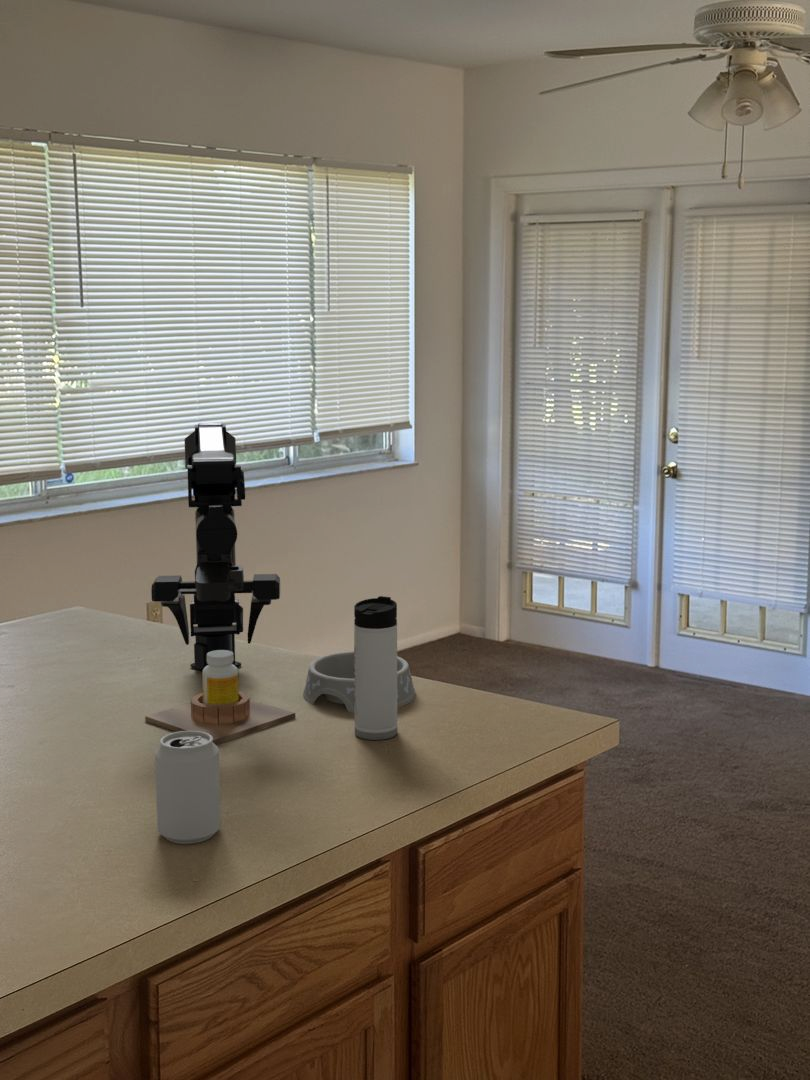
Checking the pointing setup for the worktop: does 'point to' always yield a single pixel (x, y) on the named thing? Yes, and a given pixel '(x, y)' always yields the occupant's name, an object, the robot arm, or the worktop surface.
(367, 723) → the travel mug
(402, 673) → the dog bowl
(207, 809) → the can
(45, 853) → the worktop surface
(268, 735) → the worktop surface
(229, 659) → the supplement bottle
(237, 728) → the collar board
